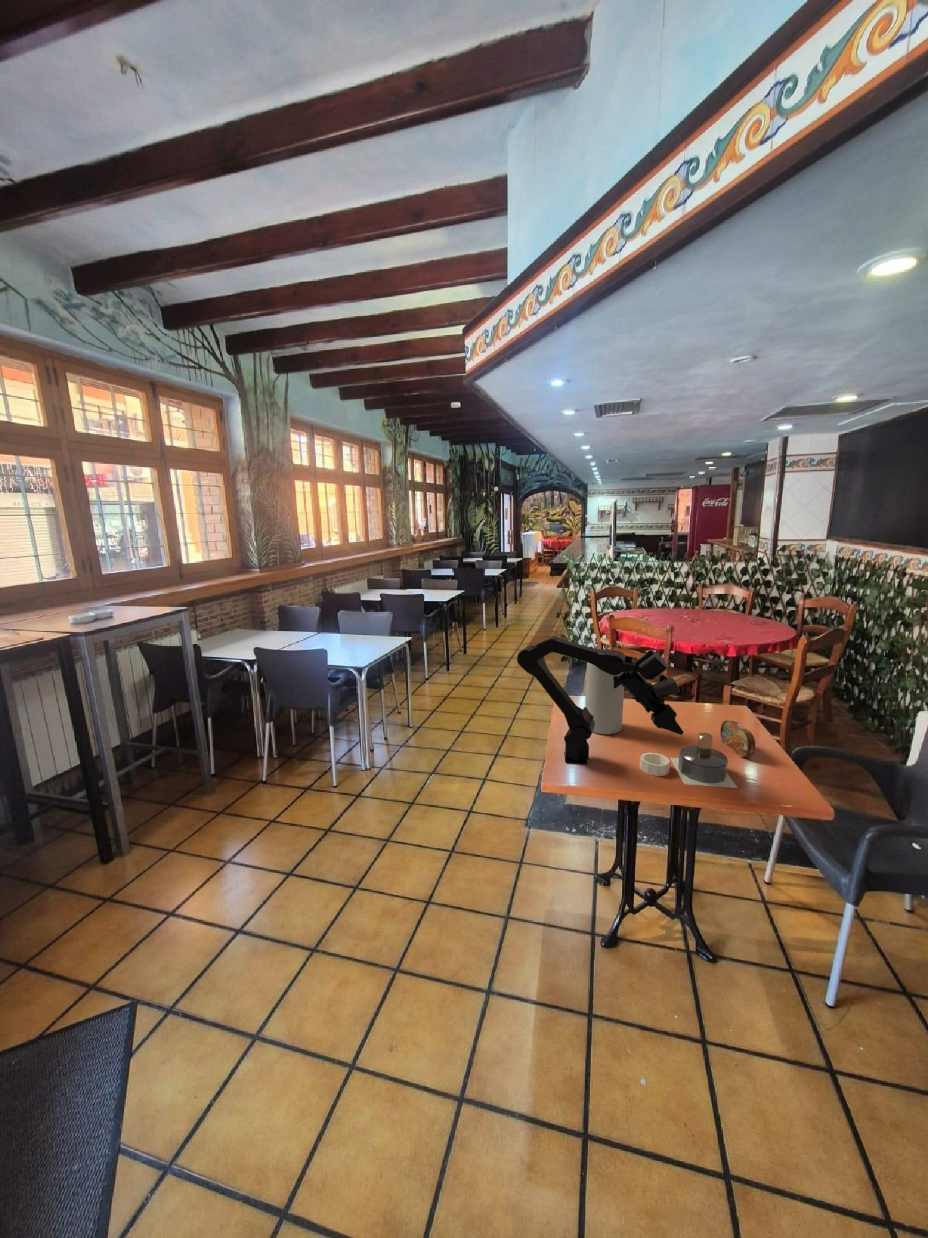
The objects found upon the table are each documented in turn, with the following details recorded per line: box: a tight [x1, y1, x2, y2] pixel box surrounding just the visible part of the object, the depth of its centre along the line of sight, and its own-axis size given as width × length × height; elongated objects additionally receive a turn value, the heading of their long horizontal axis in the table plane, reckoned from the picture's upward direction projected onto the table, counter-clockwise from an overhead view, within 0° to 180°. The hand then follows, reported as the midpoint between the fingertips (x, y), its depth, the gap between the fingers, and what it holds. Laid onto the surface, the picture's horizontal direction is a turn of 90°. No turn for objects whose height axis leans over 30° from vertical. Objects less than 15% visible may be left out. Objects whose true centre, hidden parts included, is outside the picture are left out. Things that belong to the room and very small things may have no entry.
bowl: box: [639, 752, 671, 777], centre depth 142 cm, size 8×8×4 cm
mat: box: [669, 757, 738, 789], centre depth 140 cm, size 14×15×1 cm
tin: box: [720, 719, 756, 758], centre depth 152 cm, size 15×3×8 cm, turn 1°
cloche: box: [678, 732, 729, 783], centre depth 139 cm, size 12×12×11 cm
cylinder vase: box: [584, 662, 625, 736], centre depth 168 cm, size 12×12×25 cm
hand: (677, 726), depth 138 cm, fingers open, 9 cm apart
